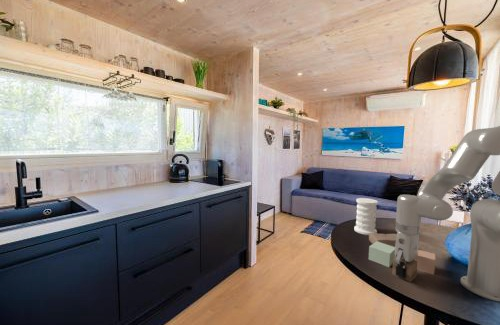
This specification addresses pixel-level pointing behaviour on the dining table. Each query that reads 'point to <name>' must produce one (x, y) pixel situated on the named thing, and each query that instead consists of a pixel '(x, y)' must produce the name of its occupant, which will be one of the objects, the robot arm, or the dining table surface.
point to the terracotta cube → (425, 262)
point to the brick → (383, 238)
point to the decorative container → (366, 216)
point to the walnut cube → (410, 270)
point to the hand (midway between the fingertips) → (404, 273)
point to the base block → (382, 253)
